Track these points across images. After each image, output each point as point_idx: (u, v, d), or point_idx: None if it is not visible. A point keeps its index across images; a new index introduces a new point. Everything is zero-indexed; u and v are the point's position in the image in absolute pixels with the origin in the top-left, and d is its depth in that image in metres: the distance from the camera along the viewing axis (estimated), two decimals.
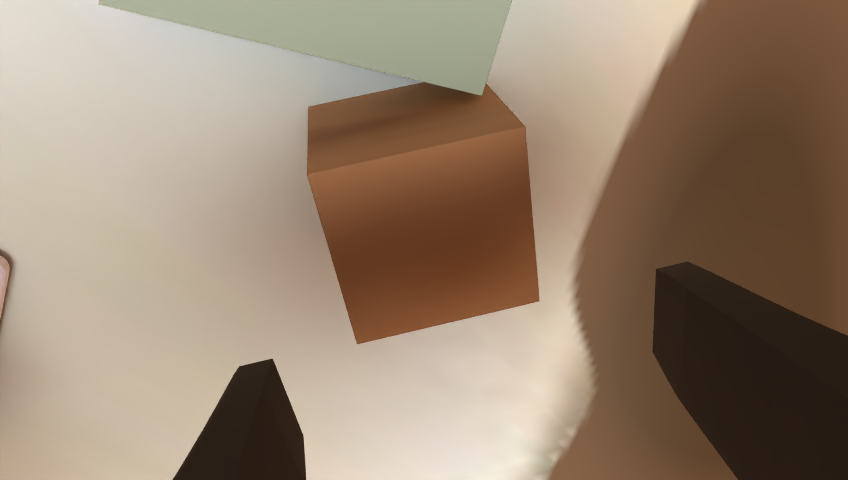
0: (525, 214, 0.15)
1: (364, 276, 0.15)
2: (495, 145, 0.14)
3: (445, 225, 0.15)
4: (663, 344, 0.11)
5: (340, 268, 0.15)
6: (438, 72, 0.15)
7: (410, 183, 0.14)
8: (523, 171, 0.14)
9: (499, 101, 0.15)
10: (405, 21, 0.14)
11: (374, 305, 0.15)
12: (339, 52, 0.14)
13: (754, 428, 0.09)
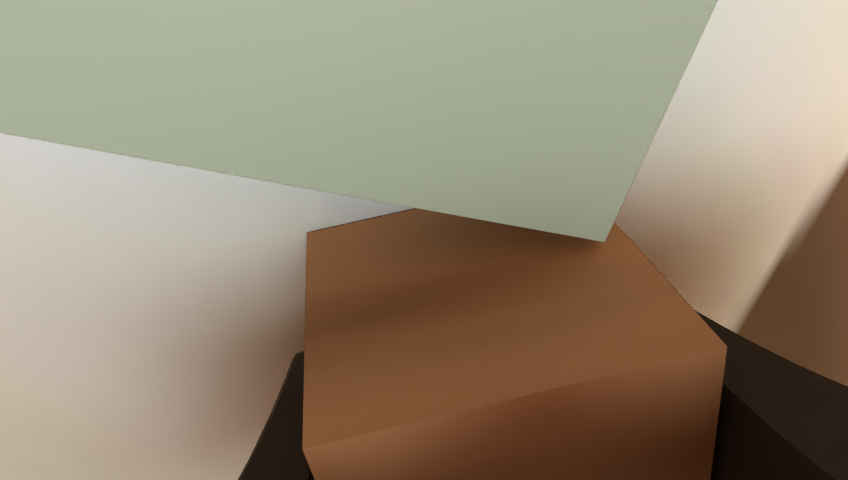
0: (699, 475, 0.08)
1: None
2: (667, 379, 0.07)
3: None
4: None
5: None
6: (535, 209, 0.09)
7: (501, 446, 0.07)
8: (709, 415, 0.07)
9: (643, 259, 0.09)
10: (484, 129, 0.08)
11: None
12: (362, 183, 0.08)
13: None
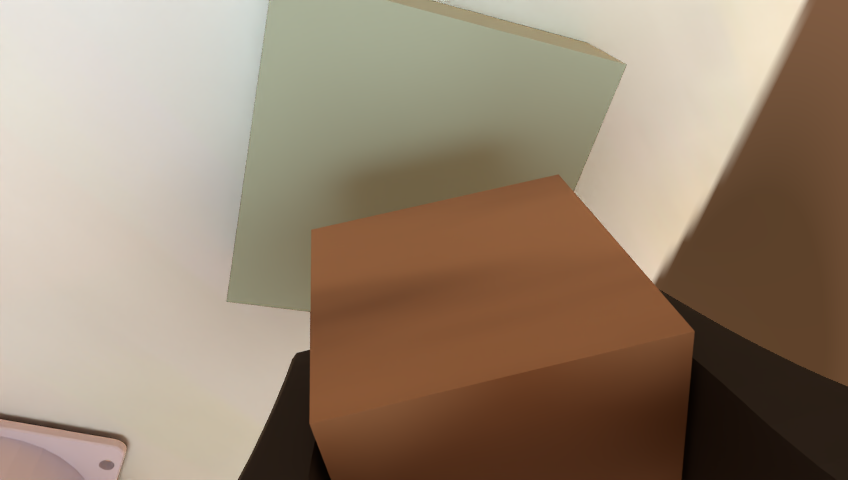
0: (673, 451, 0.09)
1: None
2: (640, 361, 0.08)
3: (541, 475, 0.09)
4: None
5: None
6: None
7: (490, 423, 0.08)
8: (680, 394, 0.08)
9: (623, 253, 0.09)
10: None
11: None
12: None
13: (689, 445, 0.09)
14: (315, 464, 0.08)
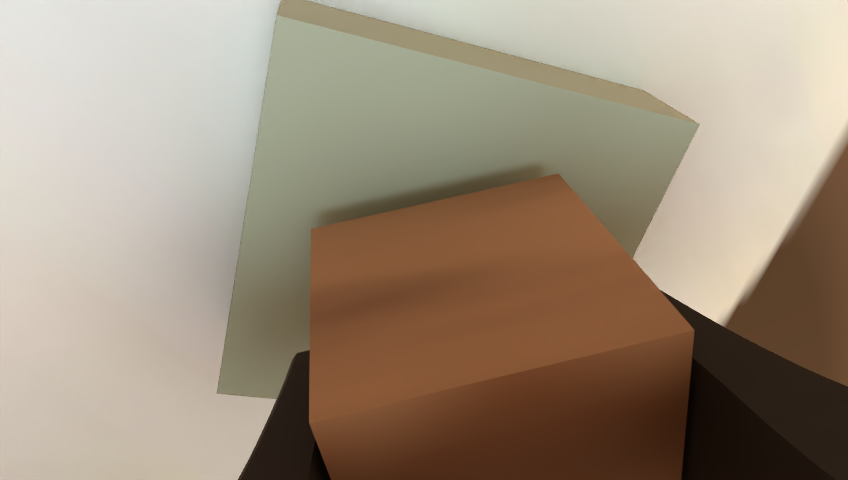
0: (673, 450, 0.09)
1: None
2: (639, 360, 0.08)
3: (541, 474, 0.09)
4: None
5: None
6: None
7: (490, 422, 0.08)
8: (680, 393, 0.08)
9: (622, 252, 0.09)
10: None
11: None
12: None
13: (688, 444, 0.09)
14: (315, 464, 0.08)
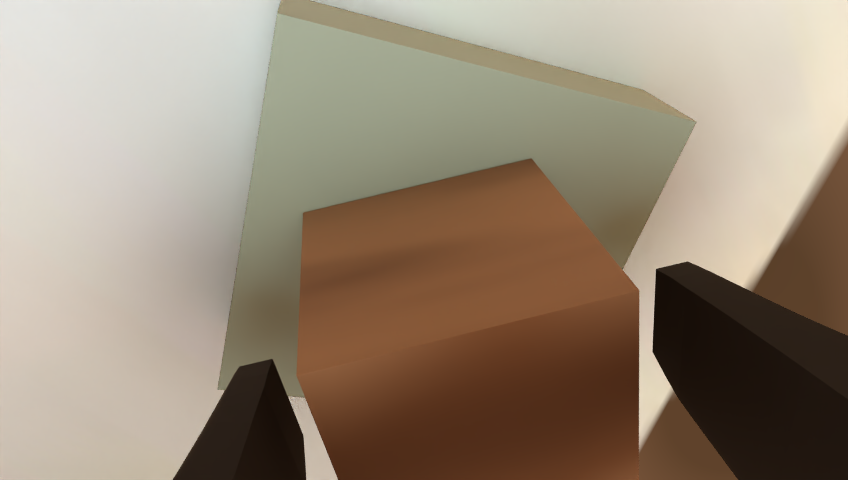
0: (629, 403, 0.10)
1: None
2: (591, 318, 0.09)
3: (508, 425, 0.10)
4: (663, 344, 0.11)
5: None
6: None
7: (458, 376, 0.09)
8: (631, 350, 0.09)
9: (583, 226, 0.10)
10: None
11: None
12: None
13: (754, 428, 0.09)
14: None
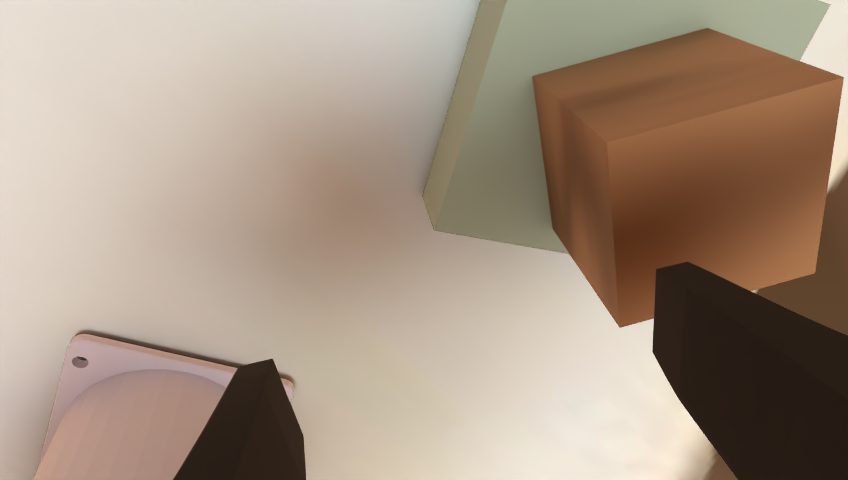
0: (822, 177, 0.13)
1: (641, 254, 0.14)
2: (808, 100, 0.12)
3: (736, 193, 0.13)
4: (663, 344, 0.11)
5: (620, 245, 0.13)
6: None
7: (710, 147, 0.13)
8: (831, 128, 0.13)
9: (778, 55, 0.14)
10: None
11: (646, 284, 0.14)
12: None
13: (754, 428, 0.09)
14: None
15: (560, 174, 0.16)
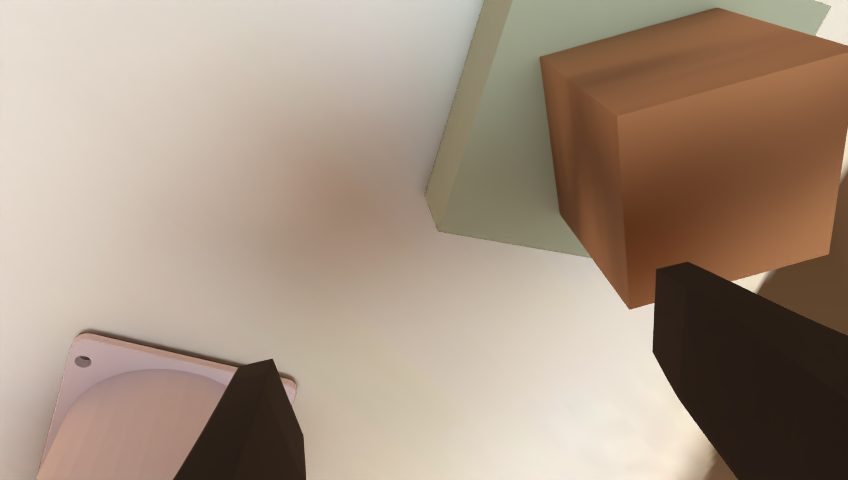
0: (836, 153, 0.13)
1: (652, 233, 0.13)
2: (822, 73, 0.12)
3: (748, 170, 0.13)
4: (663, 344, 0.11)
5: (630, 224, 0.13)
6: None
7: (723, 121, 0.12)
8: (846, 103, 0.12)
9: (791, 30, 0.14)
10: None
11: (656, 265, 0.14)
12: None
13: (754, 428, 0.09)
14: None
15: (568, 156, 0.16)
